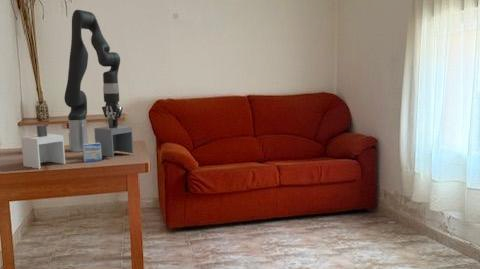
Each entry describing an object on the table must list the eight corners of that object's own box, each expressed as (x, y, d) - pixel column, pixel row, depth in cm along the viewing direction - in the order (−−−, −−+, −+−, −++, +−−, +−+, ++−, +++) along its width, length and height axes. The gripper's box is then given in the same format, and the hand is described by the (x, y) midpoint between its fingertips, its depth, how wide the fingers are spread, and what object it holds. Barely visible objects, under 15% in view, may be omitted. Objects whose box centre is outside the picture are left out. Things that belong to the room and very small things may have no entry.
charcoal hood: (96, 154, 237) (93, 118, 235) (116, 150, 248) (114, 116, 245) (112, 157, 230) (110, 119, 227) (133, 152, 240) (131, 117, 238)
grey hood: (23, 165, 217) (20, 126, 214) (49, 161, 227) (46, 123, 225) (39, 169, 209) (35, 127, 207) (65, 163, 220) (62, 124, 217)
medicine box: (85, 162, 222) (83, 144, 221) (83, 161, 226) (82, 143, 225) (102, 160, 225) (101, 143, 224) (100, 159, 229) (99, 142, 228)
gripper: (96, 92, 235) (98, 126, 238) (114, 93, 227) (116, 128, 230) (108, 91, 241) (110, 125, 244) (126, 92, 233) (128, 126, 236)
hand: (113, 126), depth 237 cm, fingers closed on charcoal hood, 3 cm apart
